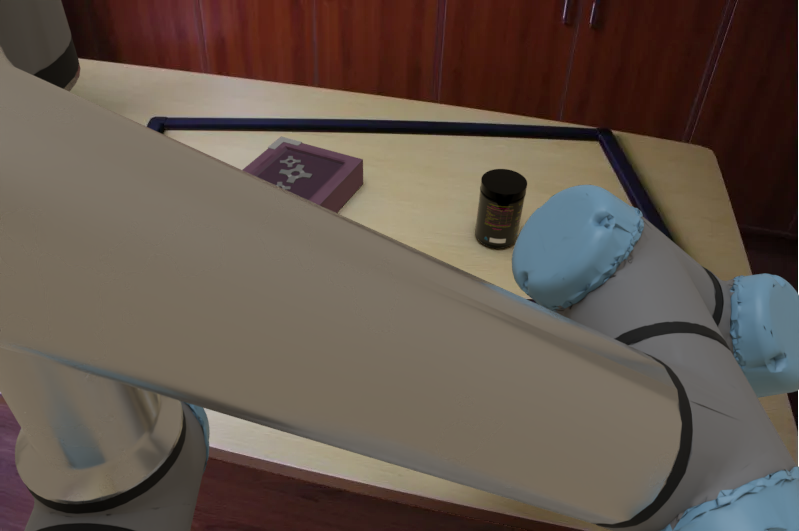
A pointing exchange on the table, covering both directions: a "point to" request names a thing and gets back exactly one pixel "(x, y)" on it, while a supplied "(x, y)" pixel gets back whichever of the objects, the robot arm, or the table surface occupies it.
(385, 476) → the table surface
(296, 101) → the table surface
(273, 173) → the book
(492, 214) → the supplement container
